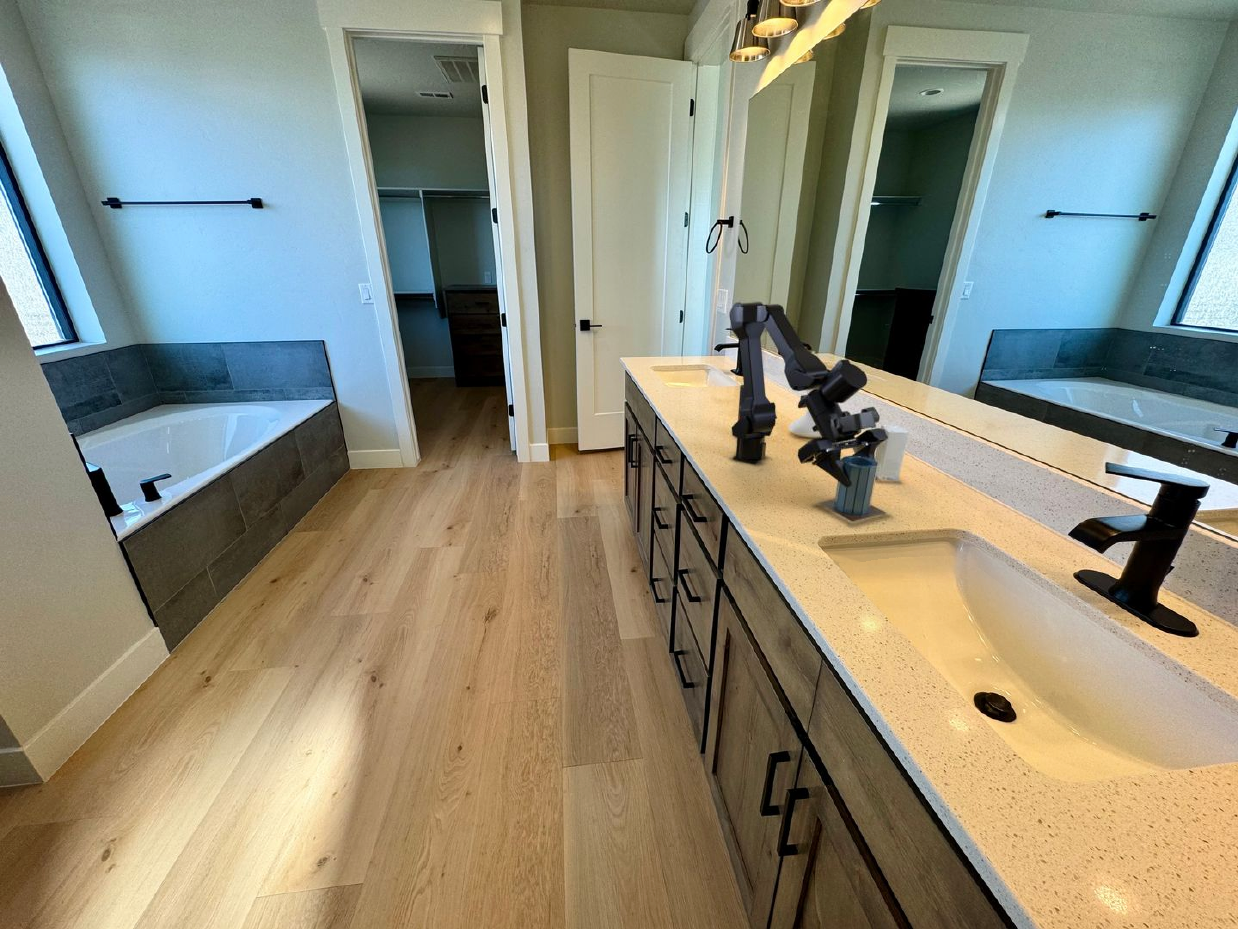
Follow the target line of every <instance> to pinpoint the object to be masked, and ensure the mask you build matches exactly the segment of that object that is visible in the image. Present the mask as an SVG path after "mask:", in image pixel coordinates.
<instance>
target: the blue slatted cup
mask: <svg viewBox="0 0 1238 929" xmlns="http://www.w3.org/2000/svg"><path fill="white" fill-rule="evenodd" d="M841 461H842V464H843V466H844V468H845V470H846V472H847V475H848V477H849V480H850V483H851V486H850V487H845V486H844V485H842V484H841V483H840V482H839V481H837V483H836V490H835V496H834V499H835V502H834V506H835V508H836V509H838V510H840V511H841V512H844V513H848V514H853V515H863V514H867V513H868V512H869V510H870V506H871V505H872V499H873V494H874V490H875V484H876V481H875V479H876V474H877V469H878V463H877V462H876V461H875V460H873V459H870V458H867V457H862V456H852V455H846V456H843V457H842V458H841Z"/></svg>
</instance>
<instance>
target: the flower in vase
mask: <svg viewBox="0 0 1238 929" xmlns="http://www.w3.org/2000/svg"><path fill="white" fill-rule="evenodd" d="M811 353H812V354H814V355H816V351H815V350H812V351H811ZM812 390H814V389H812ZM812 390H805V393H806V395H807V394H808V393H810V392H811V391H812ZM813 426H815V423H814V421H813V419H812V417H811V415H810V413H809V411H808V409H807V408H806V412H805V413H804V414H803V415H802V416H800V417H799V418H797V419H796V420H794V421H793V422H791V423H789V426H788V430H789V432H790V433H792V434H794V435H796V436H799V437H804V438H822V437H821V435H820V433H819V431H817V432H814V431H813V429H812V427H813Z"/></svg>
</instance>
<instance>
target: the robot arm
mask: <svg viewBox="0 0 1238 929" xmlns="http://www.w3.org/2000/svg"><path fill="white" fill-rule="evenodd" d="M728 315H729V321H730V322H729V323H730V326H731V329H732V333H734V335H735V336H736V338H737V340H738V341H739V348H740V349H739V350H740V358H741V360H740V361H741V367H742V369H741V370H742V378H743V379H742V380H743V385H744V392H745V400H744V402H743V404H742V406H741V409H740V419H739V420H738V419H737V421H736V422H735V423H734V424H733V425H732V426H731V435H732V436H733V437H735V438H736V446H735V455H734V456H733V457H732V459H733V460H736V461H741V462H744V463H750V464H754V465H756V464H757V465H758V464H759V463H760V462H761V461H763V460H764V459H766V450H767V442H766V437H771V435H772V432H773V430H774V427H776V421H777V419H778V416H777V411H776V408H777V407H776V403H775V402H774V401H772V402H771V401H770V399H768V396H766V394H767V393H766V386H765V375H764V374H765V373H764V361H763V360H764V359H763V352H762V338H761V337H762V335H763V333H764V331H765V330H766V332H767V333H768V335H769V337H770V339H771V340H772V342H773V344H774V346H775V347H776V349H777V351H778V353H779V354H780V356H781V358H782V359H783V362H784V370H783V373H784V376H785V378H786V381H787V384H788V386H789V388H791V390H792V391H794V392H795V391H796V392H803V391H806V390H812V389H814V390H812V391H811V392H810V393H808V394H807V393H806V394H803V395H801V396H800V398H799V401H798V402H797V408H798V409H805V408H806V410H807V409H808V411H809V413H810V415H811V417H812V419H813V421H814V423H815V426H813V427H812V429H813V431H814V432H817V431H819V433H820V435H821V437H816V438H812V439H810V440H809V441H807V442H806V443H805V444H804V445H802V446H801V447H800V448H798V450H797V458H798V460H799V462H800V464H807V463H808V464H809V463H811V464H812V466H816V467H818V468H820V469H821V470H822V471H824V472H825V473H827V474H828V475H829V476H831V477H832V478H834V479H835V480H836V481H837V482H838V481H839V482H840V483H841V484H842V485H844V486H845V487H850V486H851V483H850V480H849V477H848V475H847V472H846V470H845V468H844V466H843V464H842V461H841V459H842V458H841V456H842V451H843V450H848V449H852V450H853V452H854V453H853V454H852V455H851V456H862V457H867V458H870V459H873V460H875V455H876V450H877V446H879V445H880V444H881V443H882V442H884V441H885V440H887V439H888V436H887V434H886V432H885V431H884V430H883V429H881V427H877V425H876V424H877V423H879V422H880V420H881V419H880V418H881V416H880V414H879V412H878V410H877V409H876V408H875V406H871V407H870V406H868V407H866V408H861V410H860V412H858V413H853V414H851V413H850V411H848V410H845V411H843V410H842V408H841V406H840V404H844V403H846V402H847V401H849V400H850V398H853V396H854V395H856V394H857V393H858V392H859V391H860V390H862V389H863V388H864V387H865V386H866V385H867V384H868V377H867V374H866V372H865V371H864V370H862V369H861V368H860V367H859V366H858V365H856V364H854V363H851V361H850V360H849V359H848V358H846V359H839V360H838V361H837V362H836V363H835V365H834V366H833V367H832V368H831V369H829V368H828V367H827V366H826V364H824V362H823V361H822V360H821V358H819V357H818V356H817V355H816V354H812V351H811V352H810V351H809V350H808V349H807V347H805V345H804V343H803V342H802V340H801V339H800V337H799V335H798V333H797V332H796V330H795V329H794V327H793V325H792V323H791V322H790V321H789V319H788V317H787V316H786V314H785V309H784V307H783V305H781V304H779V303H769V304H764V303H763V302H762V301H757V300H756V301H737V302H735V303H734V304H733V305H732V307H731V308H730V310H729V314H728ZM870 428H871V429H870ZM862 430H865V431H863V432H862ZM814 459H815V460H814ZM877 480H878V478H877V476H876V479H875V482H876V481H877Z"/></svg>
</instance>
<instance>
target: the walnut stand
mask: <svg viewBox="0 0 1238 929" xmlns="http://www.w3.org/2000/svg"><path fill="white" fill-rule="evenodd" d="M834 502H835V498H833V499H829V500H825V501H820V502H817V504H818V505H820V506H822V507H824V508H826V509H828V510H830V511H832V512H834V514H837V515H839V516H841V517H843V518H845V519H847V520H848V521H850V522H852V523H853V522H857V521H861V520H865V519H869V518H873V517H877V516H880V515H885V514H887V512H886V511H884V510H882V509H880V508H878V507H876V506H873V505H872V504H871V506H870V510H869V512H868V513H867V514H863V515H853V514H848V513H844V512H841V511H840V510H838V509H836V508H835V506H834Z"/></svg>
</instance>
